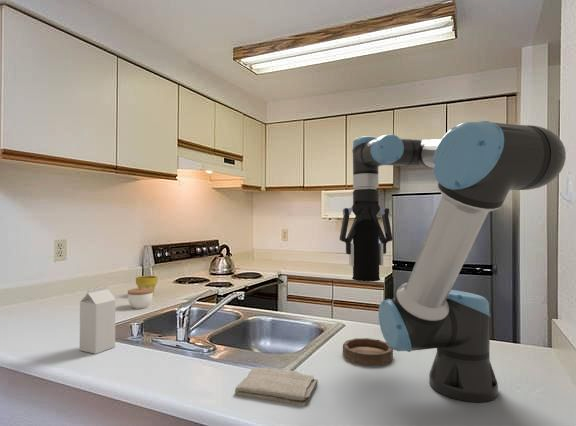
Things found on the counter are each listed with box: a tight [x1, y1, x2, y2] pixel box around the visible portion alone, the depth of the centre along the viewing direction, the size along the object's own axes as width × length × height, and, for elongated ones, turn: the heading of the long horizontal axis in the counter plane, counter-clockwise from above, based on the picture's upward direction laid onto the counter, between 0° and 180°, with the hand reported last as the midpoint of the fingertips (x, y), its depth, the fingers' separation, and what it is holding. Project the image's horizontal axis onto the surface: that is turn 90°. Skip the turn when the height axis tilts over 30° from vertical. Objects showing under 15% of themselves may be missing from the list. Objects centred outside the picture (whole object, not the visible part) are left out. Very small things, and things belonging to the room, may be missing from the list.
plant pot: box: [135, 275, 158, 295], centre depth 195 cm, size 10×10×10 cm
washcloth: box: [234, 366, 319, 406], centre depth 91 cm, size 12×18×3 cm, turn 74°
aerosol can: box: [352, 220, 381, 283], centre depth 114 cm, size 8×8×20 cm
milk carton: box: [79, 285, 116, 355], centre depth 118 cm, size 7×7×19 cm
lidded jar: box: [127, 286, 154, 310], centre depth 172 cm, size 11×11×9 cm
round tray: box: [342, 337, 394, 367], centre depth 113 cm, size 14×14×3 cm
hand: (366, 265), depth 114 cm, fingers closed on aerosol can, 8 cm apart
